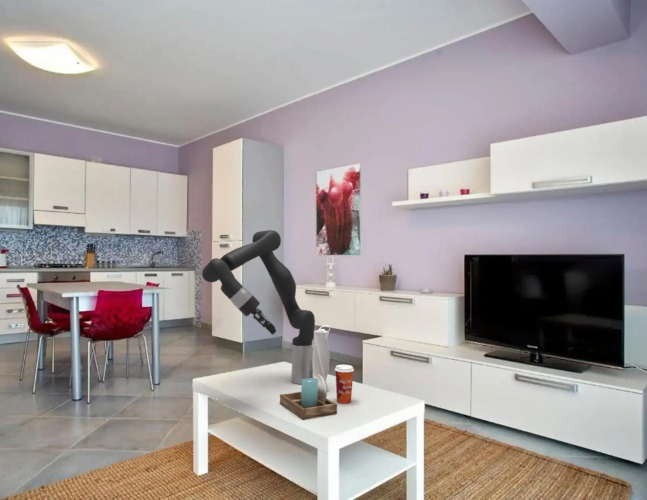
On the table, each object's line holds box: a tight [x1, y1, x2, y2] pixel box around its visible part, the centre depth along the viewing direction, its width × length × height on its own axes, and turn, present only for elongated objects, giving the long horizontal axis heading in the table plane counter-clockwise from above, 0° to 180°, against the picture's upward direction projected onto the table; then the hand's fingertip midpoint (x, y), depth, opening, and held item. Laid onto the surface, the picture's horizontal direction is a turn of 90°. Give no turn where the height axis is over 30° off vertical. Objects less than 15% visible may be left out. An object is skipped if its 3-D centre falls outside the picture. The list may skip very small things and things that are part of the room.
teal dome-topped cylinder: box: [300, 378, 318, 408], centre depth 163 cm, size 6×6×11 cm
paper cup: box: [334, 364, 355, 405], centre depth 177 cm, size 8×8×14 cm
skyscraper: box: [309, 324, 332, 393], centre depth 193 cm, size 8×8×28 cm
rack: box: [279, 375, 338, 421], centre depth 168 cm, size 14×20×12 cm
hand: (274, 331), depth 171 cm, fingers open, 8 cm apart
